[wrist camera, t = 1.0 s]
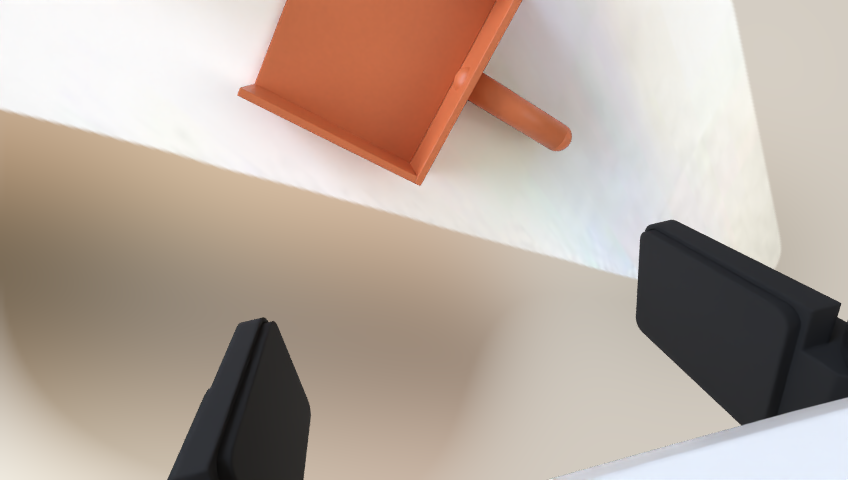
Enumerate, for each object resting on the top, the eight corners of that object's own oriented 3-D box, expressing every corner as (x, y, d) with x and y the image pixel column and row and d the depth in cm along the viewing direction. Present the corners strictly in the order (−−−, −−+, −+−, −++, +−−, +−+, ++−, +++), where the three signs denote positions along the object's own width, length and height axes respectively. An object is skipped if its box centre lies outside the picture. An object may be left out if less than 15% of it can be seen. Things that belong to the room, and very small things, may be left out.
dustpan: (253, 90, 28) (237, 95, 24) (345, -151, 24) (344, -192, 20) (503, 216, 35) (523, 237, 31) (610, 48, 31) (648, 46, 27)
